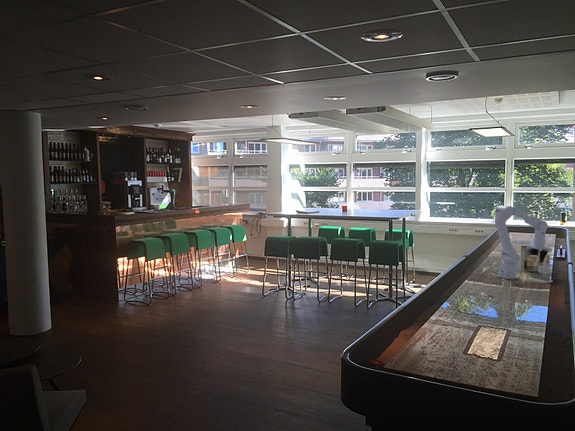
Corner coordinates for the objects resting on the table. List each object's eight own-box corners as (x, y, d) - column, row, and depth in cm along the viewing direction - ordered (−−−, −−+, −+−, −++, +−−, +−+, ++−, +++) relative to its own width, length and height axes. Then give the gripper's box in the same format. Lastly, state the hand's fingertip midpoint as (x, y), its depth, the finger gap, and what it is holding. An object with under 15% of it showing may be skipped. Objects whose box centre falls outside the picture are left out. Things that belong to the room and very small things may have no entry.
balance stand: (543, 283, 261) (543, 277, 261) (527, 279, 270) (528, 274, 270) (552, 281, 265) (552, 276, 264) (536, 278, 274) (536, 273, 273)
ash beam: (532, 266, 273) (532, 256, 272) (527, 265, 276) (527, 255, 275) (549, 264, 280) (549, 255, 279) (543, 263, 283) (544, 254, 282)
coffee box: (533, 269, 302) (535, 245, 301) (538, 271, 296) (539, 247, 295) (519, 269, 303) (520, 245, 302) (523, 271, 297) (524, 246, 296)
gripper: (555, 240, 272) (554, 263, 273) (532, 238, 285) (531, 259, 286) (547, 241, 269) (546, 264, 270) (525, 238, 282) (524, 260, 283)
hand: (538, 261), depth 278 cm, fingers closed on ash beam, 3 cm apart
